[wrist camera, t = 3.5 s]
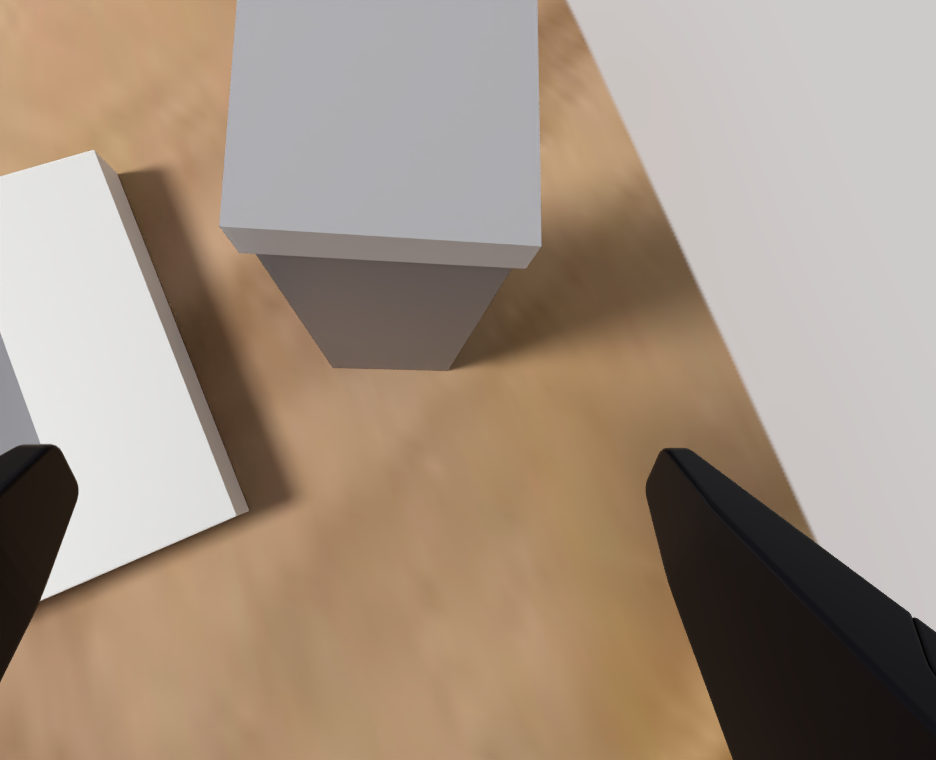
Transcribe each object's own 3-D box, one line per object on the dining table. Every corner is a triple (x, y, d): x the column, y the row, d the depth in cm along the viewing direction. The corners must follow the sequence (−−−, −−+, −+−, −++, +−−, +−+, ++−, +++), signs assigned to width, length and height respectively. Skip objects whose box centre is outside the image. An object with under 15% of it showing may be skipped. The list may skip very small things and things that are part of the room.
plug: (451, 374, 21) (541, 246, 8) (328, 371, 20) (219, 225, 8) (452, 260, 22) (537, -21, 9) (333, 253, 21) (241, -61, 8)
